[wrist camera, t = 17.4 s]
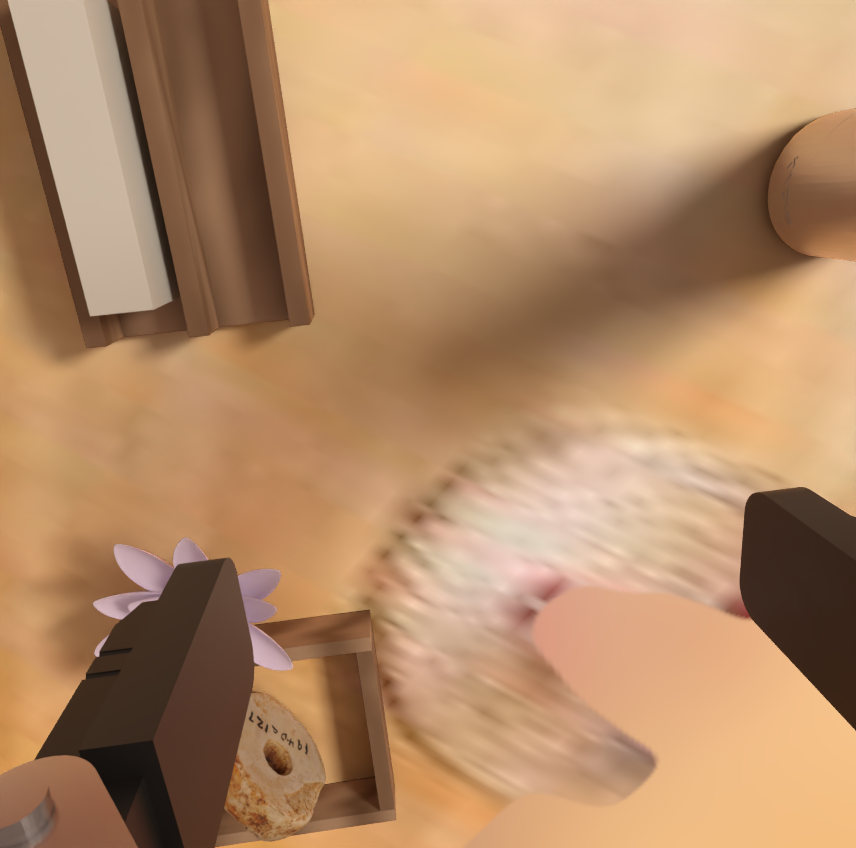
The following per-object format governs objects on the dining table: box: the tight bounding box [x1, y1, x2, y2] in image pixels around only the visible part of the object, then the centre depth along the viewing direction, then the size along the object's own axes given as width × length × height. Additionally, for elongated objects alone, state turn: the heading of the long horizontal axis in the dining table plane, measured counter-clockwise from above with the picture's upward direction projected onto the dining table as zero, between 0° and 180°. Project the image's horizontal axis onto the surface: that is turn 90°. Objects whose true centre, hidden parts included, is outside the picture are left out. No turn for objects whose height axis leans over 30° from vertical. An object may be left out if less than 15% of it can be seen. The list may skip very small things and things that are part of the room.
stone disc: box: [224, 693, 326, 841], centre depth 50 cm, size 10×4×10 cm, turn 38°
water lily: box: [93, 537, 293, 671], centre depth 45 cm, size 15×15×9 cm
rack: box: [0, 0, 314, 348], centre depth 39 cm, size 14×20×4 cm
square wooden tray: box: [215, 610, 396, 847], centre depth 53 cm, size 18×18×4 cm
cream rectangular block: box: [8, 0, 181, 316], centre depth 37 cm, size 4×16×6 cm, turn 5°
